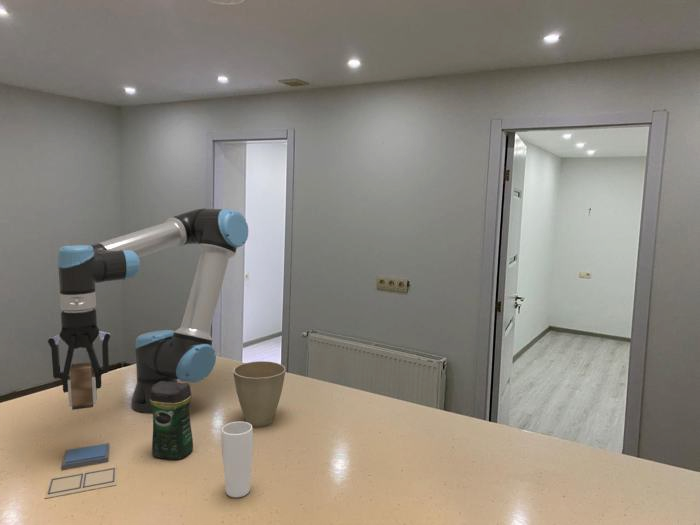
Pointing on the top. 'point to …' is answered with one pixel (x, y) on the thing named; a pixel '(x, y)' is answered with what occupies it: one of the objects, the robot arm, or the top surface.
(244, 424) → the drinking glass
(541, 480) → the top surface
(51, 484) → the sheet
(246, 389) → the plant pot
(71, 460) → the ink pad
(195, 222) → the robot arm
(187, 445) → the coffee jar
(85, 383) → the tall wooden block
